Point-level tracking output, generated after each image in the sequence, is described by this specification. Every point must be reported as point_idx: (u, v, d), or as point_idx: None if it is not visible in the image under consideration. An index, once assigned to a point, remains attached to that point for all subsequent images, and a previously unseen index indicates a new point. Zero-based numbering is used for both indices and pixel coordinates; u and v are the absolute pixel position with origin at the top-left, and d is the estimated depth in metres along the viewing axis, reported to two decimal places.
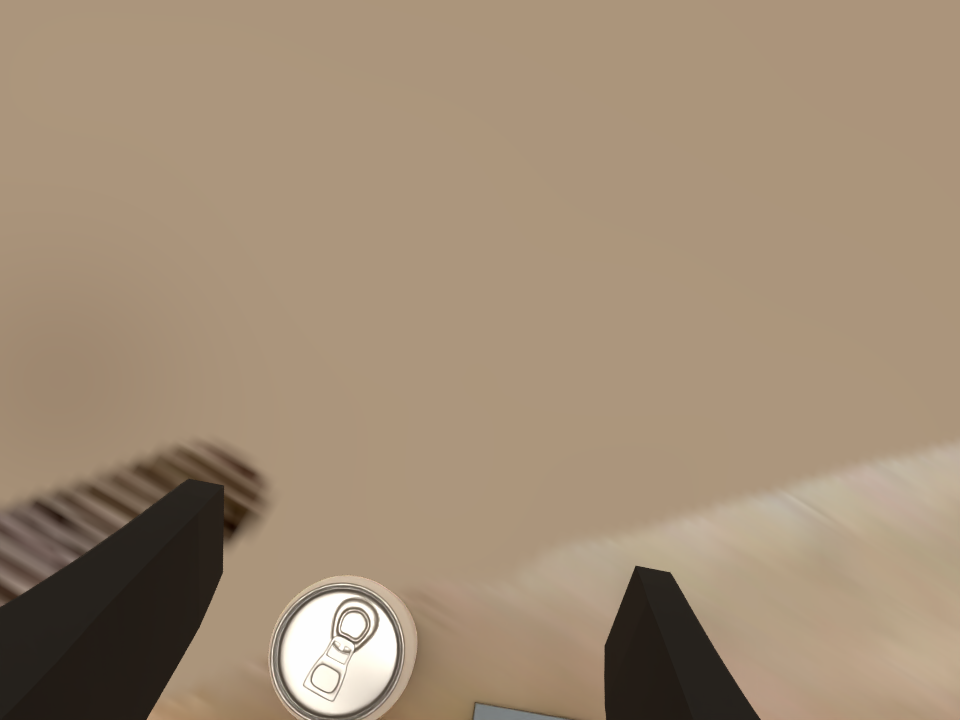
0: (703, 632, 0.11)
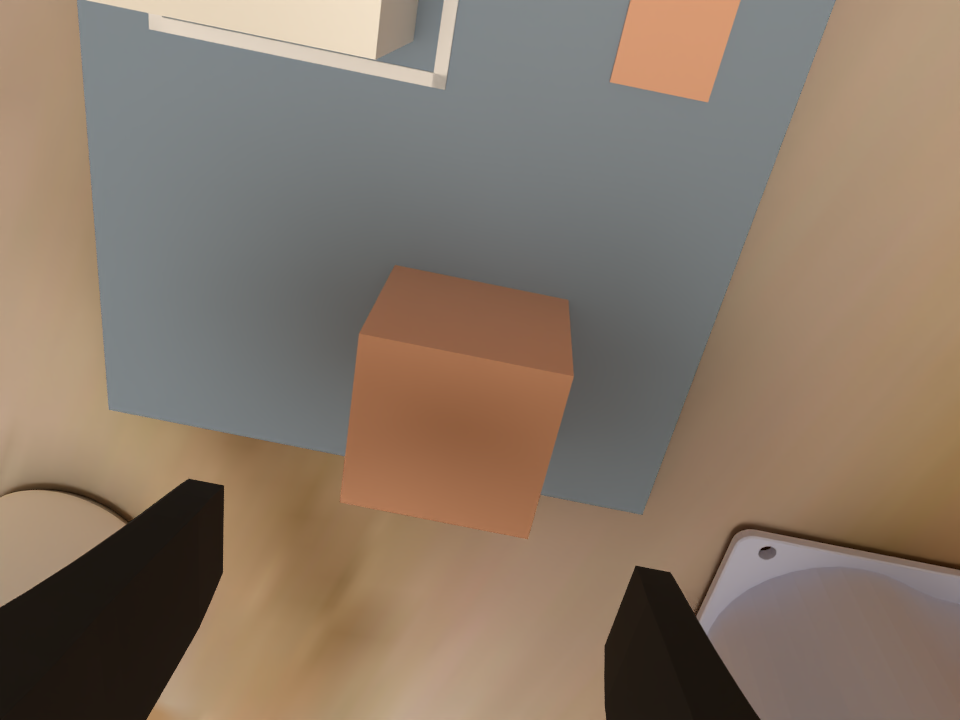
0: (703, 632, 0.11)
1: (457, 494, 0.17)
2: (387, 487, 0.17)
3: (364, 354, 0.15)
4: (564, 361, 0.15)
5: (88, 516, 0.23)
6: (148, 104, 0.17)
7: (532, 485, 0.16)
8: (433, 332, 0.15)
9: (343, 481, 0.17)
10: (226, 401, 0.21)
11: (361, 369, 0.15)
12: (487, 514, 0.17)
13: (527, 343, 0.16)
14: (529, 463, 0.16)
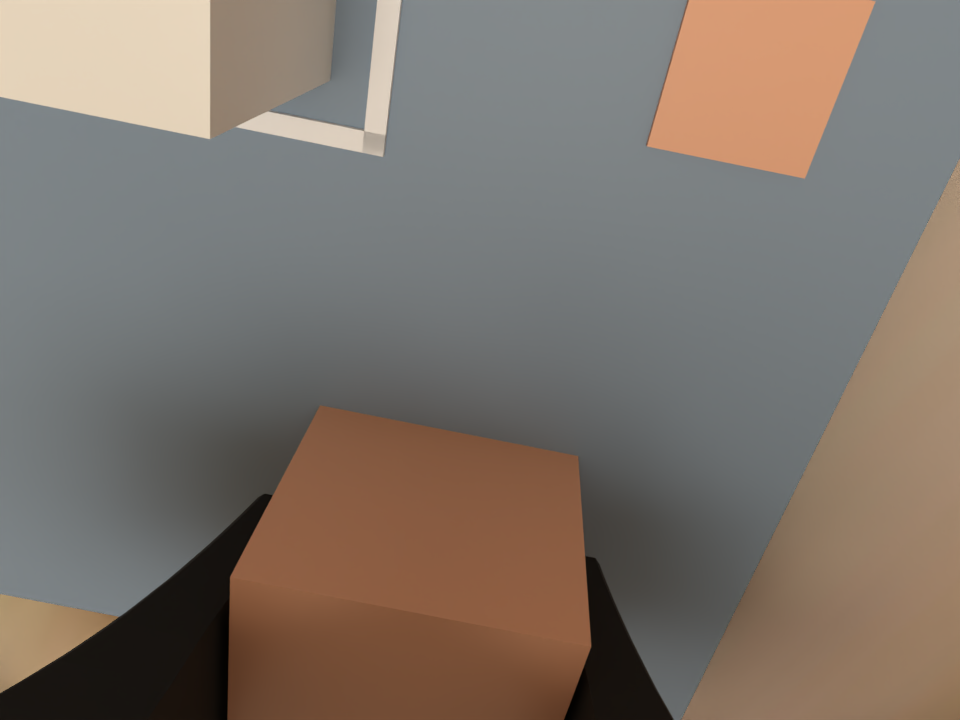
0: (617, 615, 0.11)
1: None
2: None
3: (242, 606, 0.09)
4: (575, 607, 0.09)
5: None
6: None
7: None
8: (360, 558, 0.09)
9: None
10: (96, 576, 0.15)
11: (240, 625, 0.09)
12: None
13: (515, 567, 0.10)
14: None
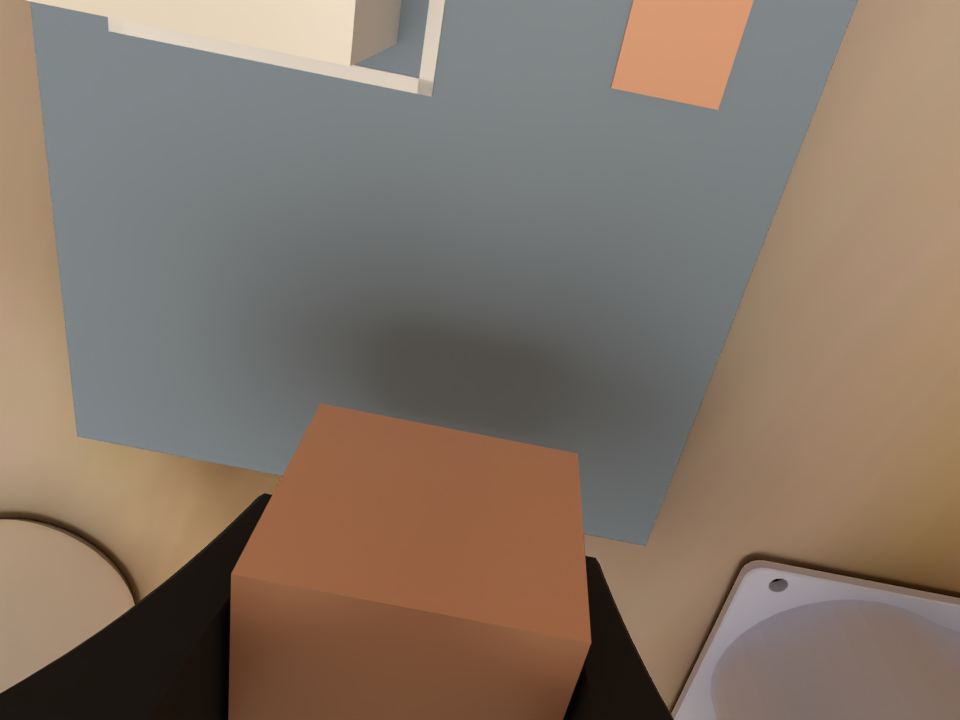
0: (617, 615, 0.11)
1: None
2: None
3: (243, 603, 0.09)
4: (575, 604, 0.09)
5: (58, 547, 0.21)
6: (110, 112, 0.16)
7: None
8: (361, 554, 0.09)
9: None
10: (202, 428, 0.19)
11: (241, 622, 0.09)
12: None
13: (515, 564, 0.10)
14: None
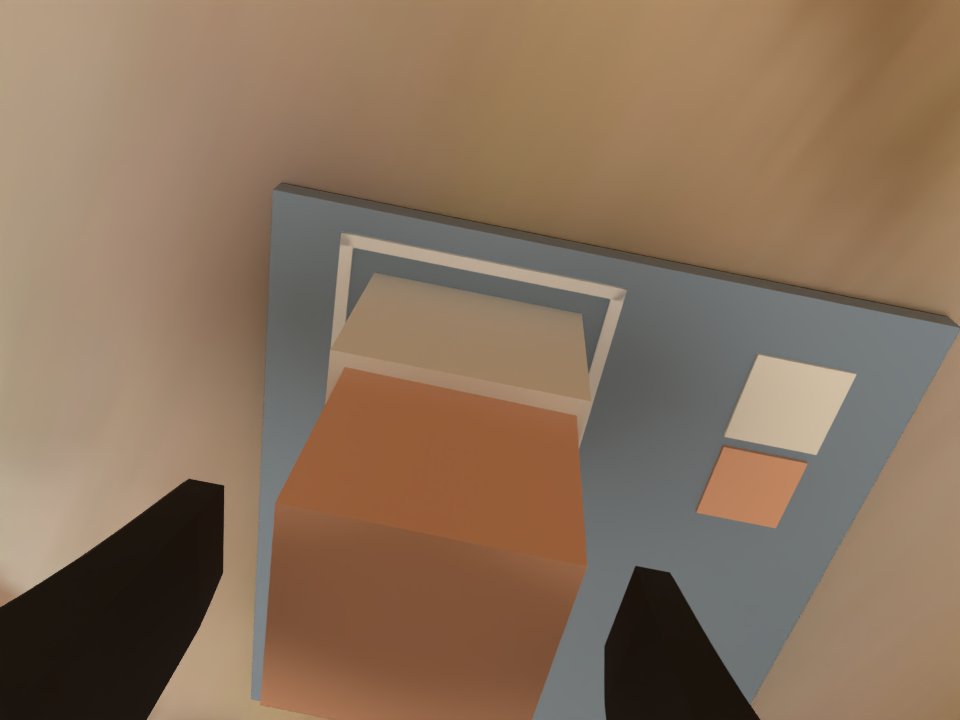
0: (703, 632, 0.11)
1: (421, 702, 0.12)
2: (324, 690, 0.12)
3: (284, 529, 0.10)
4: (573, 536, 0.11)
5: None
6: None
7: (525, 695, 0.12)
8: (387, 490, 0.11)
9: (263, 681, 0.12)
10: None
11: (281, 547, 0.11)
12: None
13: (521, 502, 0.11)
14: (521, 669, 0.11)
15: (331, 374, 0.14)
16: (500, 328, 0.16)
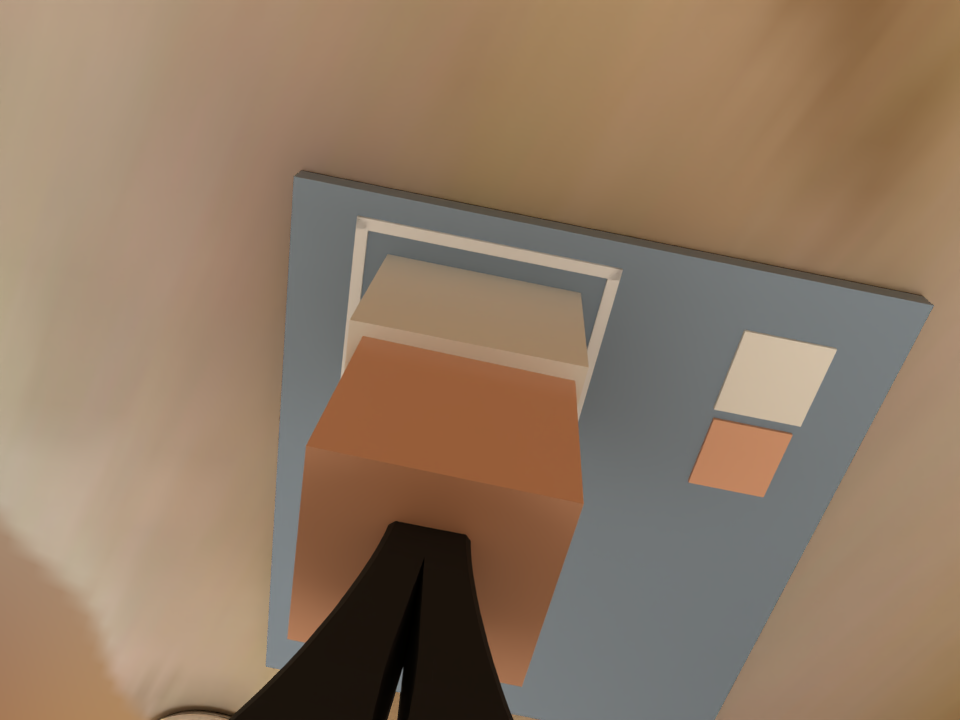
0: (470, 587, 0.11)
1: None
2: None
3: (313, 470, 0.12)
4: (571, 479, 0.12)
5: None
6: None
7: (528, 627, 0.13)
8: (404, 439, 0.12)
9: (291, 616, 0.13)
10: None
11: (310, 488, 0.12)
12: None
13: (524, 451, 0.12)
14: (524, 602, 0.13)
15: (350, 342, 0.15)
16: (505, 303, 0.17)
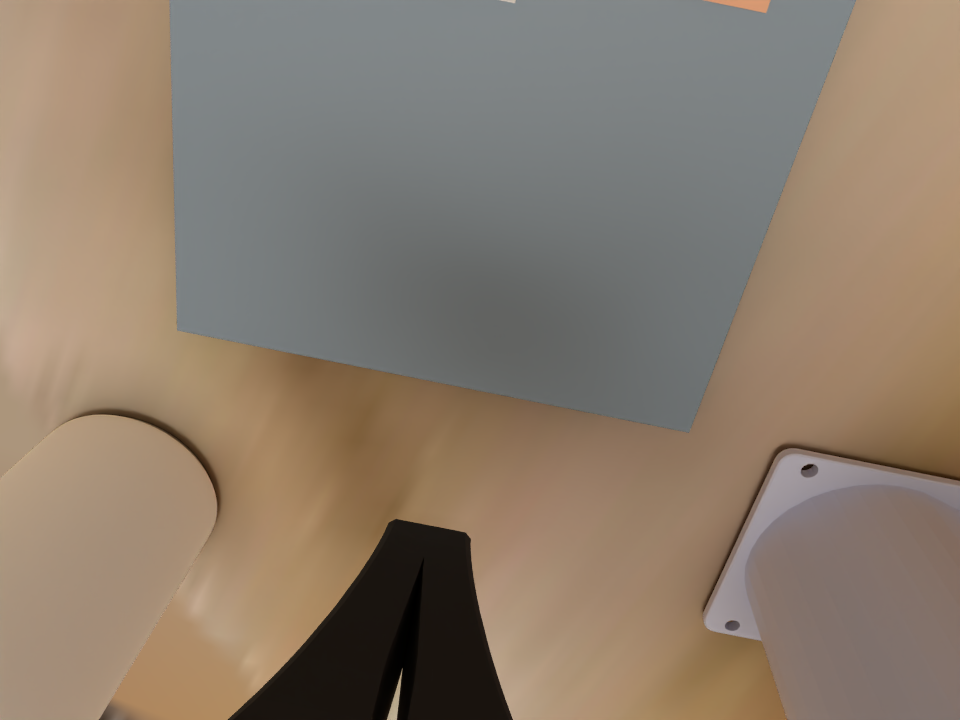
0: (470, 587, 0.11)
1: None
2: None
3: None
4: None
5: (152, 438, 0.24)
6: (230, 21, 0.18)
7: None
8: None
9: None
10: (291, 321, 0.22)
11: None
12: None
13: None
14: None
15: None
16: None
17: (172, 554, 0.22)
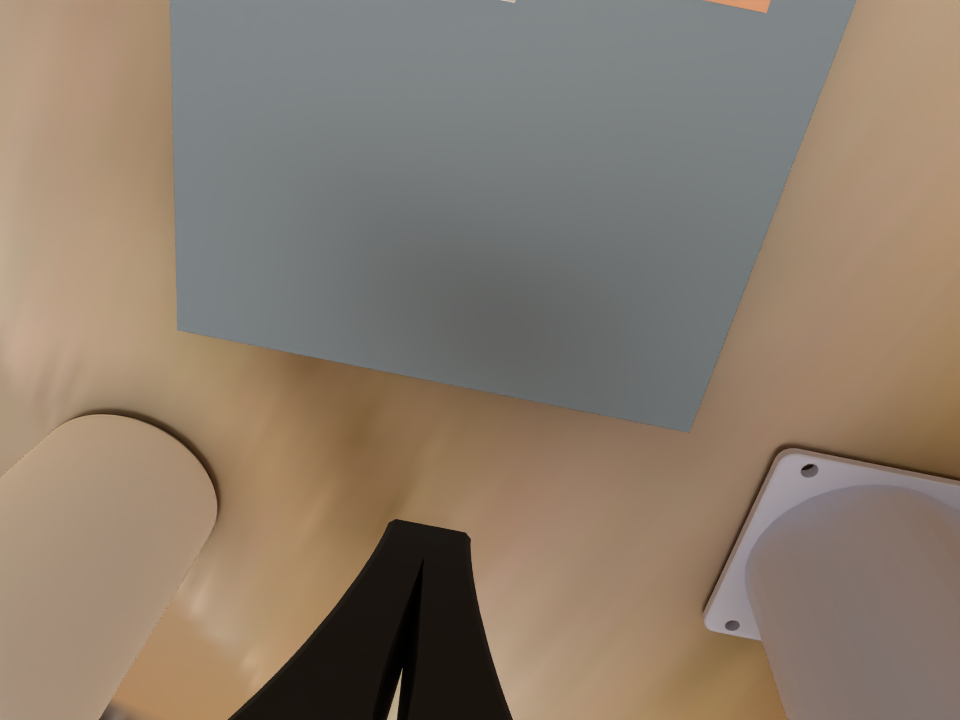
0: (470, 587, 0.11)
1: None
2: None
3: None
4: None
5: (152, 438, 0.24)
6: (230, 20, 0.18)
7: None
8: None
9: None
10: (291, 321, 0.22)
11: None
12: None
13: None
14: None
15: None
16: None
17: (172, 554, 0.22)
